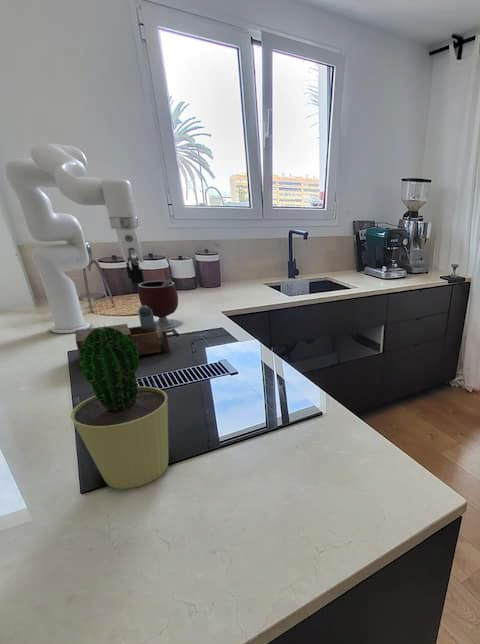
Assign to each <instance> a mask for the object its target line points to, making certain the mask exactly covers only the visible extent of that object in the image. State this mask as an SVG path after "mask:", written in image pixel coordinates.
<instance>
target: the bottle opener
mask: <svg viewBox="0 0 480 644" xmlns="http://www.w3.org/2000/svg"><path fill="white" fill-rule="evenodd" d="M137 314H138V318H139V322H140V326H141V328H142V333H143V334H145V333H152V332H157V330H156V328H155V323H154V321H155V319H154V316H153V313H152V310H151V309H150V308H149V307H148V306H145V305H144V306H142V305H141V306H139V308H138V311H137ZM159 342H160V339H159ZM160 347H162V348H163V346H162V343H161V342H160Z"/></svg>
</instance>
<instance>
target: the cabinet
mask: <svg viewBox="0 0 480 644" xmlns="http://www.w3.org/2000/svg"><path fill="white" fill-rule="evenodd" d="M120 326H121V327H120ZM104 327H107V328H109V327H110V328H114V329H118V328H120V329H118V330H119V331H121V332H123V334H124V335H125V334H126V335H127V334H128V333H129V334H128V335H127V336H129V337H128V338H129V339H130V340H131V338H132V335H131V332H130V330H129V328H130V327H129V326H128V323H122V324H114V325H107V326H106V325H105V326H99V327H98V326H97V327H91V328H90V327H89V328H88V329H82V330H75V332H74V334H75V344H76V347H77V348H76V349H78V350H79V351H78V350H77V351H78V356H80V354H79V353H80V351H81V348H82V345H83V343H85V339H86V337H87V336H88V334H89V331H88V330H90V332H92V331H93V330H94V329H97V328H99V329H101V328H103V329H104ZM125 331H126V332H125ZM124 332H125V333H124ZM126 335H125V336H126ZM81 339H82V340H83V341H84V342H82V340H81ZM76 341H77V342H76ZM80 341H81V342H82V343H81V342H80ZM131 341H132V340H131ZM79 343H80V344H81V345H80V344H79Z"/></svg>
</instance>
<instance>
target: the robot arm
mask: <svg viewBox="0 0 480 644" xmlns="http://www.w3.org/2000/svg"><path fill="white" fill-rule="evenodd" d="M30 157H31V158H30ZM30 157H13V158H10V159H8V160H7V161H6V163H5V167H4V170H5V175H6V179H7V181H8V183H9V185H10V187H11V189H12V191H14V193H15V195H16V196H17V198H18V201H19V204H20V208H21V210H22V214H23V217H24V221H25V223H26V227H27V229H28V232H29V234H30V236H31V237H32V239H33V240H35V241H37V242H41V243H42V242H49V243H50V242H62V241H63V242H64V241H65V242H66V243H65V244H50V245H41V246H37V247H35V248H34V249H33V250H32V251H31V254H30V257H31V260H32V263H33V265H34V267H35V268H36V270H37V271H36V272H37V273H38V275H39V277H40V281H41V283H42V286H43V289H44V292H45V295H46V300H47V302H48V306H49V310H50V312H51V316H52V319H53V323H54V325H53V326H51V328H50V330H51V332H52V333H55V334H70V333H71V334H72V333H75V330H82V329H90V327H91V323H90V322H89V321H85V318H84V315H83V311H82V307H81V303H80V300H79V296H78V292H77V288H76V285H75V283H74V281H73V280H72V278H70V277H69V276H68V275H67V274H66V273H65V272H69V271H77V270H83V268H86V269H87V266H88V264H89V256H88V252H87V248H86V244H85V242H86V241H85V237H84V233H83V229H82V225H81V224H80V222H79V220H78V219H77V218H76V217H75V216H74V215H73V214H70V213H66V212H59V213H58V212H54V210H53V207H52V202H51V200H50V198H49V196H47V195H46V193H45V192H44V191H43V190H41V189H40V187H42V188H43V187H44V188H58V190H59V191H60V192H59V193H61V194H62V195H63V196H64V197H65V198H67V199H69V200H70V201H72V202H74V203H75V204H78V205H81V206H105V207H106V212H107V217H108V221H109V225H110V229H111V230H115V233H116V235H117V241H118V245H119V248H120V252H121V255H122V260H123V261H124V262H125V264H126V266H125V267H126V273H127V276H128V279H130V280H131V283H132V284H136V285H137V284H140V283H144V282H145V280H144V275H143V271H142V269H141V264H140V263H144V256H143V252H142V247H141V243H140V240H139V239H140V238H139V235H138V232H137V230H140V224H139V219H138V215H137V209H136V205H135V199H134V194H133V189H132V185H131V184H132V183H130V181H129V180H127V179H126V178H125V179H124V178H105V177H103V178H102V177H89V176H88V177H87V170H88V160H87V158H86V155H85V154H84V153H83V152H82V150H81V149H79V148H78V147H75V146H73V145H67V144H59V143H50V142H39V143H37V144H35V145H33V146H32V148H31V150H30Z"/></svg>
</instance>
